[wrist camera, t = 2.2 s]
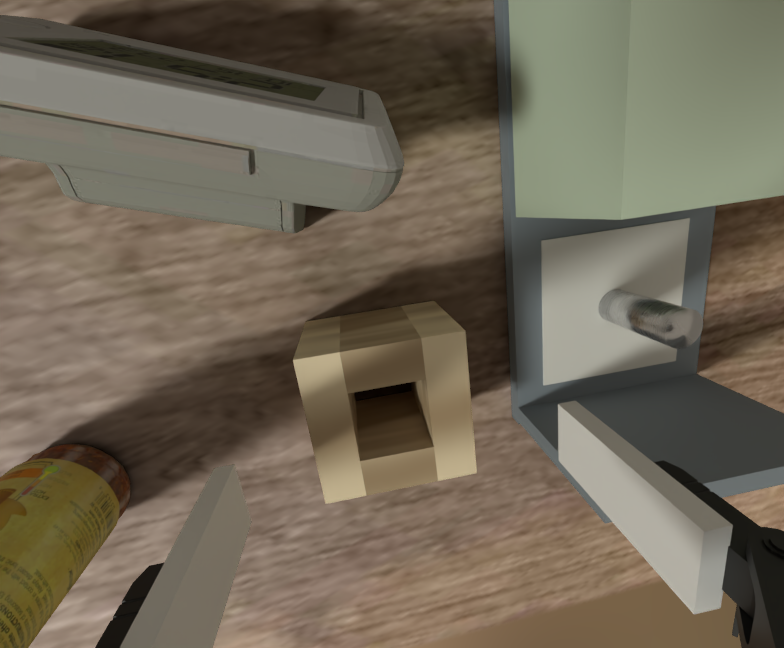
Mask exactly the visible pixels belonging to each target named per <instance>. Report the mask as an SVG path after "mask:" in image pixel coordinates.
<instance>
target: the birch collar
mask: <svg viewBox="0 0 784 648" xmlns="http://www.w3.org/2000/svg"><path fill="white" fill-rule="evenodd" d="M293 363H294V368H295V372H296V376H297V381H298V385H299V389H300V394H301V398H302V402H303V407H304V411H305V416H306V420H307V424H308V429H309V433H310V437H311V442H312V446H313V450H314V455H315V459H316V463H317V468H318V472H319V477H320V481H321V485H322V490H323V494H324V498H325V503H326V504H327V503H332V502H337V501H342V500H347V499H352V498H357V497H362V496H367V495H372V494H377V493H381V492H386V491H391V490H396V489H401V488H406V487H411V486H416V485H421V484H426V483H431V482H436V481H440V480H445V479H450V478H455V477H460V476H465V475H470V474H475V473H477V470H476V457H475V445H474V432H473V419H472V407H471V394H470V382H469V369H468V357H467V344H466V332H465V330H464V329H463V328H462V327H461V326H460V325H459V324H458V323H457V322H456V321H455V320H454V319H453V318H452V317H451V316H449V315H448V314H447V313H446V312H445V311H444V310H443V309H442V308H441V307H440V306H439V305H438V304H437V303H436V302H435V301H429V302H423V303H417V304H411V305H404V306H398V307H392V308H386V309H380V310H374V311H368V312H361V313H355V314H349V315H343V316H337V317H331V318H325V319H318V320H312V321H306V322H305V325H304V328H303V331H302V334H301V337H300V340H299V343H298V346H297V349H296V352H295V355H294V358H293ZM409 382H411V387H412V391H409V392H403V393H398V394H393V395H387V396H382V397H376V398H371V399H365V400H360V401H356V400H355V395H354V392H359V391H365V390H370V389H376V388H381V387H387V386H393V385H398V384H404V383H409Z"/></svg>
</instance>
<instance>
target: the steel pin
mask: <svg viewBox="0 0 784 648" xmlns="http://www.w3.org/2000/svg"><path fill="white" fill-rule="evenodd" d="M598 311H599V314H600V316H601V317H602V318H603V319H604V320H606V321H608V322H611V323H613V324H616V325H618V326H621V327H623V328H626V329H628V330H631V331H633V332H635V333H638V334H640V335H643V336H645V337H648V338H650V339H653V340H655V341H658V342H660V343H662V344H665V345H667V346H670V347H672V348H675V349H682V348H686V347H688V346H690V345H691V344H693V343H694V342H695V341H696V340H697V339H698V337H699V336H700V334H701V332H702V329H703V318H702V316H701V314H700V313H699V312H698V311H696V310H693V309H690V308H686V307H682V306H679V305H675V304H671V303H668V302H664V301H661V300H657V299H653V298H650V297H646V296H642V295H639V294H635V293H631V292H628V291H624V290H621V289H614V290H611V291H609V292H607V293H606V294H605V295H604V296H603V297H602V298H601V300H600V302H599V307H598Z"/></svg>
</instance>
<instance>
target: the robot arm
mask: <svg viewBox="0 0 784 648" xmlns="http://www.w3.org/2000/svg"><path fill="white" fill-rule="evenodd" d="M558 454H559V462H560V463H561V464H562V465H563V466H564V467H565V468H566V470H567V471H568V472H569V473H570V474H571V475H572V476H573V478H574V479H575V480H576V481H577V482H578V483H579V484H580V485H581V487H582V488H583V489H584V490H585V491H586V492H587V493H588V495H589V496H590V497H591V498H592V499H593V500H594V501H595V503H596V504H597V505H598V506H599V507H600V508H601V509H602V510H603V512H604V513H605V514H606V515H607V516H608V517H609V518H610V520H611V521H612V522H613V523H614V524H615V525H616V526H617V528H618V529H619V530H620V531H621V532H622V533H623V534H624V535H625V537H626V538H627V539H628V540H629V541H630V542H631V543H632V545H633V546H634V547H635V548H636V549H637V550H638V551H639V553H640V554H641V555H642V556H643V557H644V558H645V559H646V560H647V562H648V563H649V564H650V565H651V566H652V567H653V568H654V570H655V571H656V572H657V573H658V574H659V575H660V576H661V578H662V579H663V580H664V581H665V582H666V583H667V584H668V585H669V587H670V588H671V589H672V590H673V591H674V592H675V593H676V595H677V596H678V597H679V598H680V599H681V600H682V601H683V603H684V604H685V605H686V606H687V607H688V608H689V609H690V610H691V612H692V613H693V614H698V613H702V612H706V611H710V610H715V609H718V608H721V601H722V595H723V591H724V592H725V593H726V594H727V595H728V596H729V597H730V598H732V600H733V601H734V602H736V603H737V607H736V613H735V619H734V625H733V632H732V635H733V636H735V637H738V634H739V635H740V641H741V647H742V648H784V531H782V530H779V529H774V528H767V527H760V526H758V525H757V524H756V523H754V522H753V521H752V520H750V519H749V518H748V517H746V516H745V515H744V514H742V513H741V512H740V511H738V510H737V509H736V508H734V507H733V506H732V505H730V504H729V503H727V502H726V501H725V500H723V499H722V498H721V497H719V496H718V495H717V494H715V493H714V492H711V491H710V489H709V488H707V487H706V486H705V485H703V484H702V483H701V482H698V481H697V479H695V478H694V477H693V476H691V475H690V474H688V473H687V472H686V471H684V470H683V469H681V468H679V467H677V466H675V465H673V464H671V463H668V462H666V461H664V460H662V461H657V462H652V461H651V460H650V459H649V458H647V457H646V456H645V455H644V454H642V453H641V452H640V451H639V450H637V449H636V448H635V447H634V446H632V445H631V444H630V443H628V442H627V441H626V440H625V439H623V438H622V437H621V436H620V435H618V434H617V433H616V432H615V431H613V430H612V429H611V428H610V427H608V426H607V425H606V424H604V423H603V422H602V421H601V420H599V419H598V418H597V417H596V416H594V415H593V414H592V413H591V412H589V411H588V410H587V409H586V408H584V407H583V406H582V405H580V404H579V403H578V402H577V401H571V402H565V403H560V404H558ZM251 522H252V521H251V517H250V514H249V511H248V507H247V504H246V501H245V497H244V494H243V491H242V487H241V484H240V481H239V477H238V474H237V470H236V467H235V464H233V465H228V466H223V467H217V468H214V470H213V472H212V474H211V475H210V477H209V479H208V481H207V483H206V485H205V487H204V489H203V491H202V493H201V494H200V496H199V498H198V500H197V502H196V504H195V506H194V508H193V510H192V511H191V513H190V515H189V517H188V519H187V521H186V523H185V525H184V527H183V529H182V530H181V532H180V534H179V536H178V538H177V540H176V542H175V544H174V546H173V547H172V549H171V551H170V553H169V555H168V557H167V559H166V561H165V563H161V564H156V565H151V566H149V567H148V568H147V569H146V570H145V571H144V572H143V573H142V574H141V575H140V576H139V577H138V578H137V579H136V580H135V581H134V582H133V584H132V585H131V587H130V589H129V591H128V592H127V594H126V596H125V597H124V599H123V601H122V605H120V606H119V608H118V609H117V611H116V613H115V614H114V616H113V620H112V621H110V623H109V625H108V626H107V628H106V630H105V632H104V633H103V635H102V637H101V638H100V640H99V642H98V644H97V645H96V647H95V648H213V645H214V641H215V638H216V635H217V632H218V628H219V625H220V622H221V619H222V616H223V612H224V609H225V606H226V603H227V599H228V596H229V593H230V590H231V587H232V583H233V580H234V577H235V574H236V571H237V567H238V564H239V561H240V558H241V554H242V551H243V548H244V545H245V542H246V538H247V535H248V532H249V529H250V525H251Z"/></svg>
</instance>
